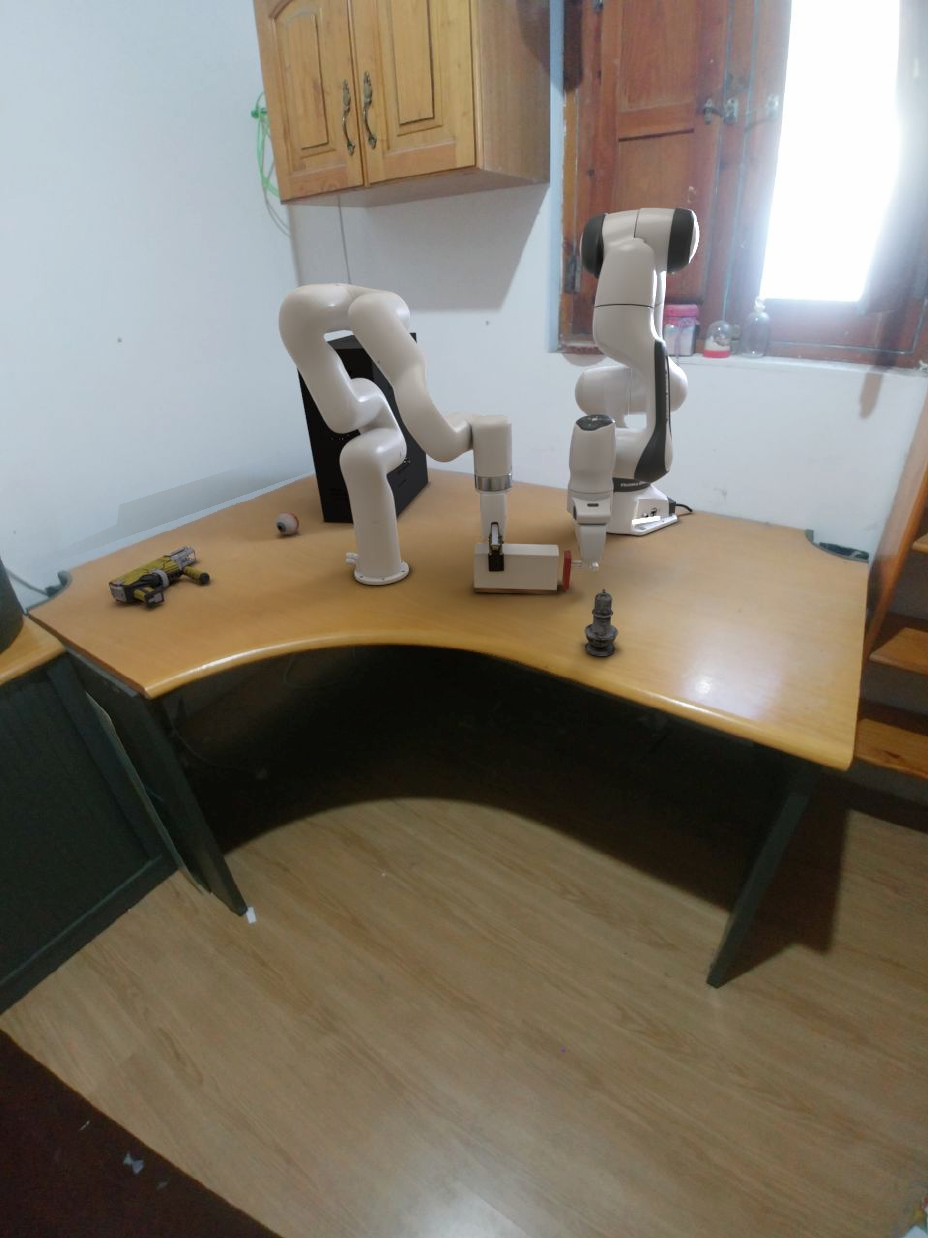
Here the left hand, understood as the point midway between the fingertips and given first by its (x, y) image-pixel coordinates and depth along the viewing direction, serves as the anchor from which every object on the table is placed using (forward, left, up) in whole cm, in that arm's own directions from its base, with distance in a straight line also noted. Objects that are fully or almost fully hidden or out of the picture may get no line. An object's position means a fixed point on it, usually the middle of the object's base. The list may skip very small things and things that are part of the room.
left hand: (496, 563), depth 128 cm
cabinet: (+4, +1, -6) cm, 7 cm away
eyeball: (-65, +18, -6) cm, 67 cm away
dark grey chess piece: (+25, -18, -6) cm, 31 cm away
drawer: (+10, +3, -5) cm, 11 cm away
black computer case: (-52, +48, -6) cm, 71 cm away
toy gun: (-74, -16, -6) cm, 75 cm away
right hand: (+18, +4, -1) cm, 19 cm away
